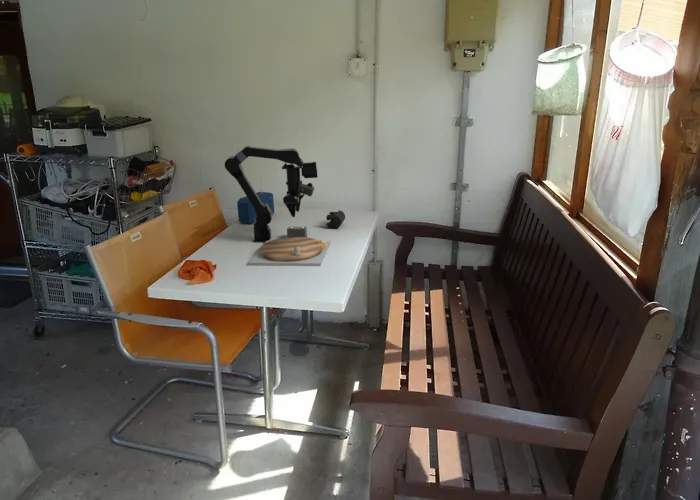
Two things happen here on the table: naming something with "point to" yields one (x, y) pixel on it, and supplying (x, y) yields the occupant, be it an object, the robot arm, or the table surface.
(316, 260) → the base plate
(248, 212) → the radio
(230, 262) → the table surface
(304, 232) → the steel link block
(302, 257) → the round wooden board
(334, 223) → the end cap
